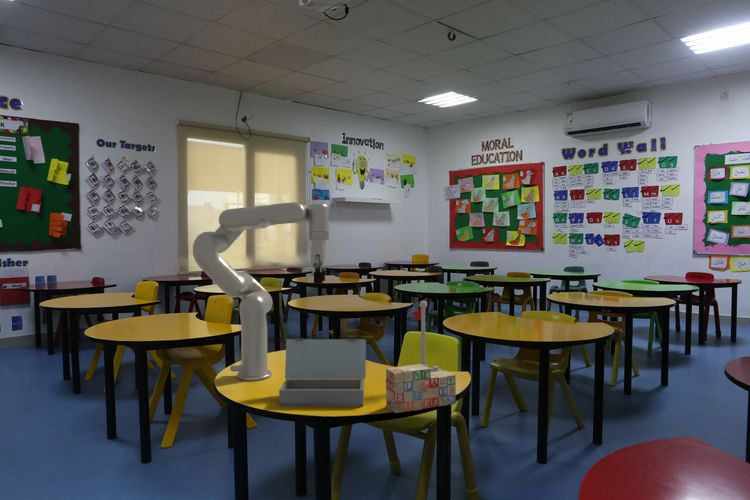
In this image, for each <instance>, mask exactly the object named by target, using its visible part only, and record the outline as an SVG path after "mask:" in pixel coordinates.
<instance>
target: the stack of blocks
mask: <svg viewBox="0 0 750 500" xmlns="http://www.w3.org/2000/svg"><path fill="white" fill-rule="evenodd" d="M385 368H386V367H385ZM430 368H431V367H429V366H428V367H426V366H423V365H422V364H421V363H418V364H411V365H409V364H408V365H403V366H395V367H387V368H386V369H385V372H386V373H385V374H386V375H385V376H386V378H385V390H386V393H385V394H386V397H385V400H386V407H385V408H387V409H389V411H392V412H393V414H398V413H405V412H407V413H408V412H413V411H421V410H425V409H430V408H436V407H444V406H450V405H456V402H457V400H456V397H457V394H456V393H457V392H456V391H457V387H456V386H457V385H456V374H453V373H452V372H449V371H447V370H441V371H438V372H437V371H436V372H430Z"/></svg>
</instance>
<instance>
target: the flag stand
mask: <svg viewBox="0 0 750 500" xmlns="http://www.w3.org/2000/svg"><path fill="white" fill-rule="evenodd" d="M418 306H419V309H417V310H415V311H412V312H411V313H410V314H411V316H413V317H415V318H417V320H420V364H422V365H423V366H426V367H428V368H430V372H436V371H437V372H438V371H442V368H440V367H439V366H437V365H432V366H431V367H429V364H426V309H427V307H428V302H427V301H425V300H421V301H419V304H418Z"/></svg>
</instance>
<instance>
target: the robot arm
mask: <svg viewBox="0 0 750 500" xmlns="http://www.w3.org/2000/svg"><path fill="white" fill-rule="evenodd" d="M218 223H219V226H218V228H216V230H215V231H204V232H202V233H200V234H198V235H197V236H196V238H195V239H194V241H193V244H192V256H193V258H194V261H195V263H196V264H197V266H198V267H199V268H200V270H202V271H203V272H204V273H205V274H206V275H207V276H208V277H209V278H210V279H211V280H212V282H214V283H215V285H217V287H218V288H219V289H220V290H221V291H222V292H223V293H224V294H225V295H226V296H228V297H229V298H239V299H240V300H241V301H240V303H239V317H240V331H241V332H240V333H241V335H240V337H241V341H240V343H241V349H240V350H241V355H240V356H241V359H240V360H241V364H239V365H237V364H236V365H235V364H231V365H230V371H231V372H238V373H236V378H237V379H239V380H242V381H250V382H251V381H261V380H264V379H265V380H266V379H268V378H270V377H271V376H272V371H271V370H269V369H268V322H267V313H269V311H271V309H272V307H273V303H274V302H273V298H272V296H271V294H270V293H269V292H268V291H267V290H266V289H265V288H264V287H263V286H262V285H261V284H260V282H258V281H257V280H256V279H255V278H254V276H252V275H251V274H249V273H247V272H245V271H238V270H235V268H233V267H232V266H231V265H230V263H228V262H227V261H226V260H225V259H224V258H222V257H221V256H220V255H219V254H222V253H224V252H226V251H227V250H228V249H229V248H230V247H231V246H232V245H233V244H234V242H236V240H237V239H238V238H239V237H240V236H241V235H242V233H244V231H247V230H248V231H249V230H250V231H251V230H260V229H266V228H267V227H270V226H276V225H286V224H297V225H301V224H308V241H310V242H311V243H310V266H311V268H313V283H314V284H323V283H324V282H325V281H326V271H325V266H326V263H327V261H326V260H327V241H330V235H329V234H330V228H329V225H330V224H329V223H330V222H329V207H328V205H327V204H326V203H311V204H303V203H301V202H292V201H291V202H283V203H282V202H281V203H274V204H264V205H256V206H255V205H254V206H247V207H235V208H228V209H225V210H222V212H221V213H220V214H219V217H218Z"/></svg>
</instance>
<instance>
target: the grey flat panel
mask: <svg viewBox="0 0 750 500" xmlns="http://www.w3.org/2000/svg"><path fill="white" fill-rule="evenodd" d="M285 341H286V343H285V369H284V371H285V372H284V379H285V380H286V379H364V380H365V379H366V376H367V375H366V374H367V373H366V372H367V370H366V369H367V368H366V364H367V363H366V362H367V361H366V359H367V356H366V354H367V351H366V350H367V348H366V347H367V346H366V345H367V344H366V343H367V341H366V338H365V339H364V338H363V339H361V338H360V339H359V338H348V339H347V338H346V339H342V338H341V339H338V338H337V339H335V338H332V339H329V338H326V339H324V338H321V339H319V338H318V339H317V338H315V339H313V338H310V339H309V338H308V339H307V338H291V339H289V338H286V339H285Z"/></svg>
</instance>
